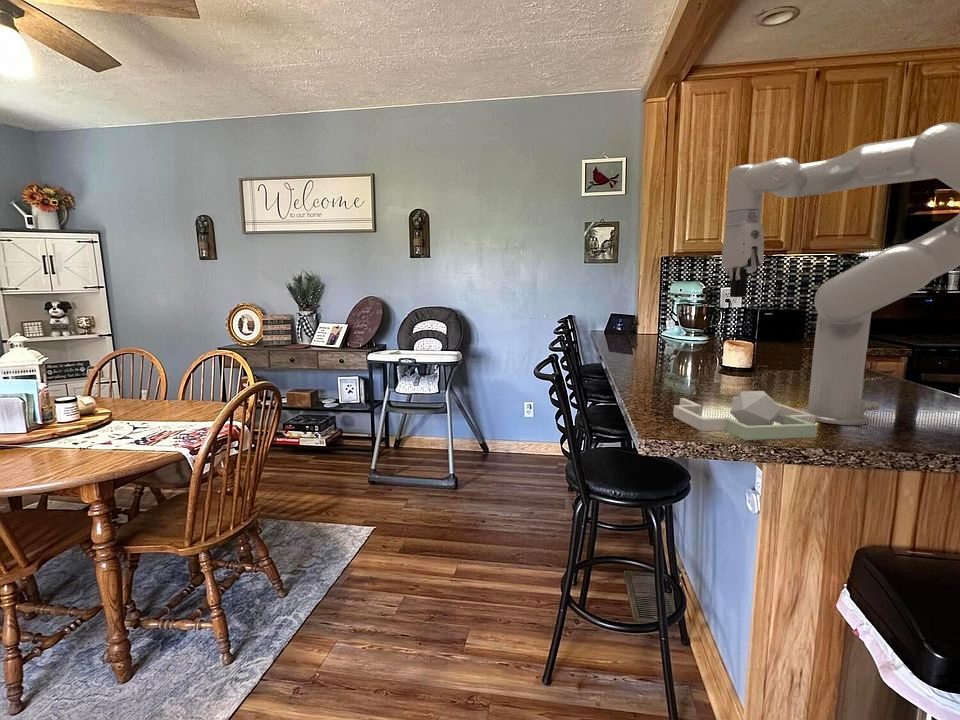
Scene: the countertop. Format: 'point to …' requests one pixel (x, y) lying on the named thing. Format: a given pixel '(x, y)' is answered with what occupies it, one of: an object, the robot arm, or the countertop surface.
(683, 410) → the dice tray
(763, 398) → the die
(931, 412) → the countertop surface
